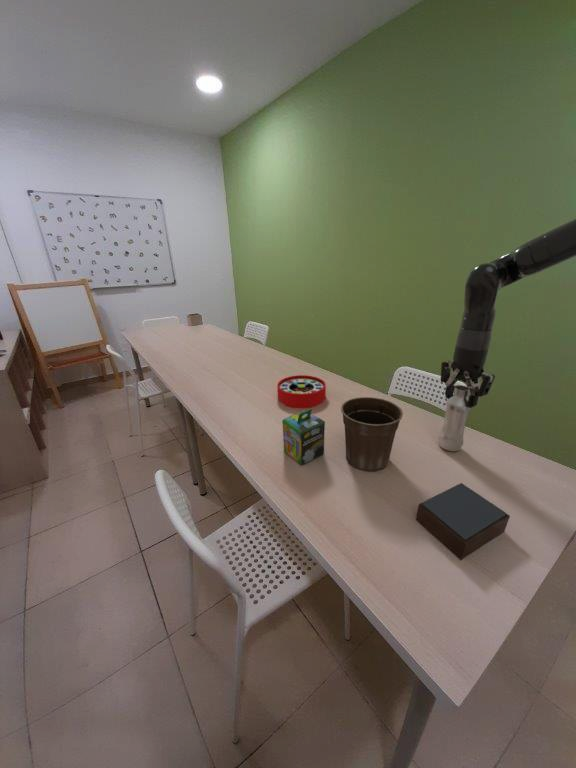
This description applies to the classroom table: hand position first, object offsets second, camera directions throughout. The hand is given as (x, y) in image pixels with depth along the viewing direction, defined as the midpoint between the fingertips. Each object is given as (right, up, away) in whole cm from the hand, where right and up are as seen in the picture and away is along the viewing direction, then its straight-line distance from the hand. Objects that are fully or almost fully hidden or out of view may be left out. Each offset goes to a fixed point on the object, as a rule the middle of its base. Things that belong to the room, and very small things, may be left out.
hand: (459, 402), depth 85 cm
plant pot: (-25, -17, +3) cm, 31 cm away
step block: (-11, -26, -19) cm, 34 cm away
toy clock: (-43, 0, +41) cm, 60 cm away
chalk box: (-44, -16, +6) cm, 47 cm away
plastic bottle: (0, -14, +6) cm, 16 cm away
